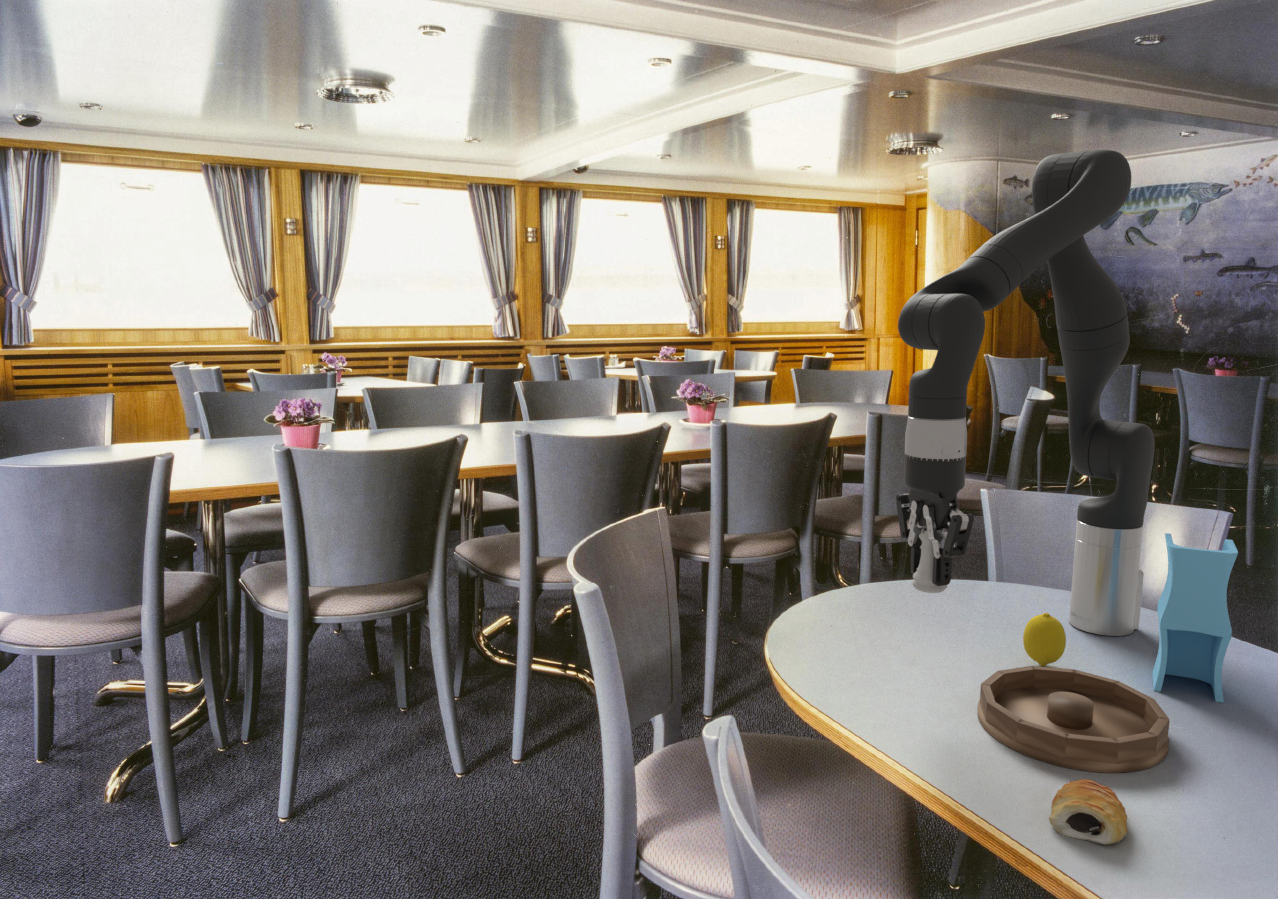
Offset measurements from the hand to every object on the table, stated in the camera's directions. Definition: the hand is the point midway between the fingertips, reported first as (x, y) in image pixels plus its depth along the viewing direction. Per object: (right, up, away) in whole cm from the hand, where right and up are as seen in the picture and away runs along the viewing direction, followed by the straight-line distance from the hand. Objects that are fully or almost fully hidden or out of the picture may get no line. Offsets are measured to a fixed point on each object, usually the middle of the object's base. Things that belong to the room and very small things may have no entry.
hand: (929, 578), depth 114 cm
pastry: (+7, -21, -27) cm, 35 cm away
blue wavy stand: (+36, -15, +4) cm, 39 cm away
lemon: (+20, -14, +10) cm, 26 cm away
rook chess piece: (0, -2, 0) cm, 2 cm away
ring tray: (+15, -17, -8) cm, 24 cm away
